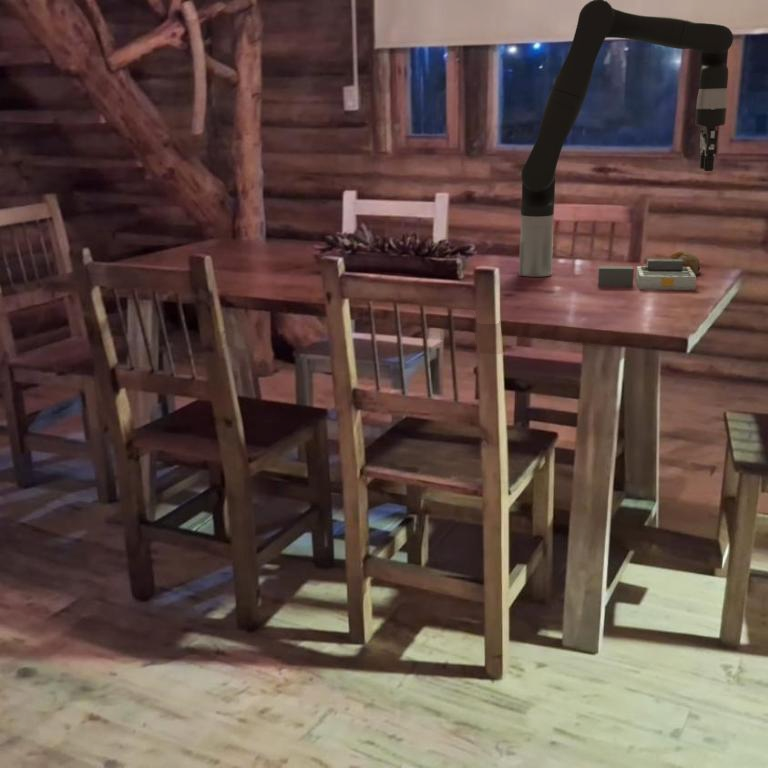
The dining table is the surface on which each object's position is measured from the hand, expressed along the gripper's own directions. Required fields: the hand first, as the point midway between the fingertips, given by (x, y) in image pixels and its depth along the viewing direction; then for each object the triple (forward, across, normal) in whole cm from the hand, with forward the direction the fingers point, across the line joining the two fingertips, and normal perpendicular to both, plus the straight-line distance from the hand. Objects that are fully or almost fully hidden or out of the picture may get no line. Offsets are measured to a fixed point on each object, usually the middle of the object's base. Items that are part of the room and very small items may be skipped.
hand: (706, 169), depth 236 cm
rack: (+29, +12, -10) cm, 33 cm away
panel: (+29, +14, -23) cm, 40 cm away
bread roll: (+30, -6, -4) cm, 30 cm away
